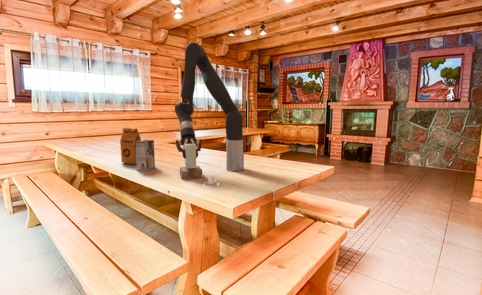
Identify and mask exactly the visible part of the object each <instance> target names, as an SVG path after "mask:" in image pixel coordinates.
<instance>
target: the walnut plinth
mask: <svg viewBox="0 0 482 295" xmlns="http://www.w3.org/2000/svg"><path fill="white" fill-rule="evenodd" d="M179 175H180V178H181V180H192V179H193V180H195V179H203V169H202V168H201V167H200V166H199V165H196V166H194V167H186V166H180V167H179Z"/></svg>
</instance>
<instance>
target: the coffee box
mask: <svg viewBox="0 0 482 295" xmlns="http://www.w3.org/2000/svg"><path fill="white" fill-rule="evenodd" d="M135 146H136V163H137V165H136V171H144V172H145V171H149V170H151V169H153V168H155V167H156V160H155V139H143V140H142V139H141V141H137V142H135Z"/></svg>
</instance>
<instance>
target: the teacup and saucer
mask: <svg viewBox="0 0 482 295" xmlns="http://www.w3.org/2000/svg"><path fill="white" fill-rule="evenodd" d="M206 184H208V185H206ZM215 184H216V185H215ZM202 186H204V187H207V188H215V187H219V186H220V182H218V181H217V179H216V178H215V176H214V175H208V176H207V181H206V182H203V183H202Z"/></svg>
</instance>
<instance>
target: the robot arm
mask: <svg viewBox="0 0 482 295" xmlns="http://www.w3.org/2000/svg"><path fill="white" fill-rule="evenodd" d="M196 68H198V70H199V71H200V73H201V76H202V79H203V82H204V85H205V87H206V88H207V90H208V92H209V94H210V95H211V97H212V98H213V100H214V101H215V102H216V103H217V104H218V105H219V106H220V108H221V109H222V111H223V113H224V114H225V137H226V157H225V158H226V159H225V160H226V165H225V166H226V168H225V169H226V171H229V172H230V171H231V172H239V171H243V170H244V167H245V155H244V144H243V142H244V135H243V134H244V133H243V127H244V126H243V125H244V124H243V123H244V115H243V113H242V112H241V111H240V110H239V109H238V107H237V106H236V104H235V103H234V101H233V99H232V97H231V95H230V92H229V91H228V89H227V88H226V85H225V83H224V82H223V80H222V78H221V77H220V75H219V73H218V72H217V71H216V69H215V68H214V66H213V65H212V63H211V62H210V59H209V57H208V55H207V53H206V51H205V48H204V47H203V46H202V45H200V44H198V43H196V42H189V43H188V44H187V45H186V46H185V50H184V70H183V78H182V84H181V90H180V97H181V98H183V99H184V100H186V101H187V102H182V101H178V102H176V103H175V106H174V112H175V115H176V117H177V118H178V121H179V133H180V140H178V139H176V140H175V146H176V149H177V151H178V152H179V153H182V158H184V160H185V158H186V153H185V144H195V145H196V144H197V145H198V147H197V145H196V159H197V158H198V157H199V152H201V149H202V143H203V140H202V139H197V137H196V132H195V127H194V122H193V118H192V115H193V114H194V110H195V109H194V108H195V107H194V93H195V88H196V70H197V69H196ZM181 145H182V147H181Z"/></svg>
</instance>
